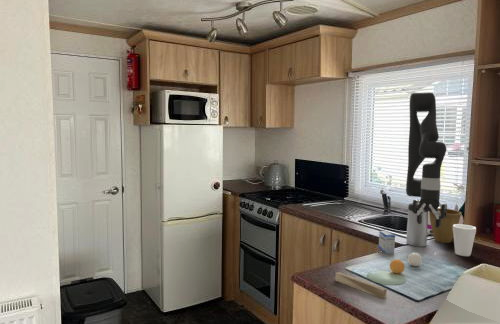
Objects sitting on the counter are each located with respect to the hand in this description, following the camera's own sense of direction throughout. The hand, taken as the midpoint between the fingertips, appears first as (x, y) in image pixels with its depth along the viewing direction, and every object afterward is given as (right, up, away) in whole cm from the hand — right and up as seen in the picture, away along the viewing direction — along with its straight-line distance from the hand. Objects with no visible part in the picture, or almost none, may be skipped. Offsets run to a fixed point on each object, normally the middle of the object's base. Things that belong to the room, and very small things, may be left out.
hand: (428, 225), depth 169 cm
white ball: (-8, -13, -5) cm, 17 cm away
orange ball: (-19, -14, -14) cm, 28 cm away
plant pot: (+23, -14, +33) cm, 42 cm away
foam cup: (+21, -15, +12) cm, 29 cm away
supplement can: (+25, -13, +48) cm, 56 cm away
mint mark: (-25, -17, -19) cm, 36 cm away
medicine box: (-13, -15, +15) cm, 25 cm away
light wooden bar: (-38, -18, -30) cm, 52 cm away
